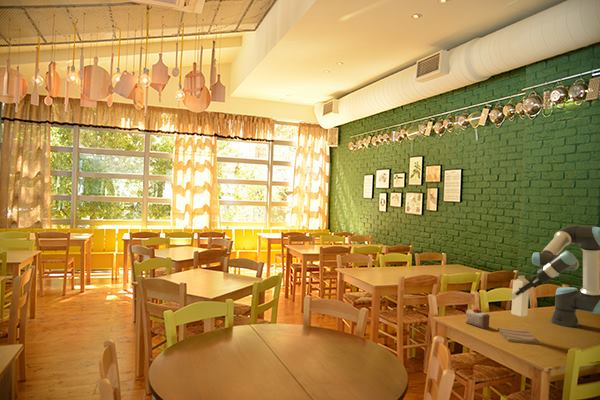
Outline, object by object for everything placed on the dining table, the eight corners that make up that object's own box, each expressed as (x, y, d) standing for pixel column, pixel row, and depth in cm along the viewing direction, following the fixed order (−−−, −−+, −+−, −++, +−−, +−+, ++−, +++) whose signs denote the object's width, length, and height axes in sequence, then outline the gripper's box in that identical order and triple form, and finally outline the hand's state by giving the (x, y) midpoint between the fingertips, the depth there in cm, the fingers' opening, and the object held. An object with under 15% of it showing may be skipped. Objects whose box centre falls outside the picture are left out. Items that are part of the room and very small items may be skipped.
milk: (527, 315, 242) (530, 276, 241) (520, 316, 239) (523, 277, 238) (517, 312, 247) (520, 274, 247) (510, 313, 244) (513, 274, 244)
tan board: (497, 330, 254) (497, 327, 254) (526, 333, 252) (526, 330, 252) (507, 341, 235) (508, 338, 235) (539, 344, 232) (539, 341, 232)
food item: (463, 322, 266) (464, 306, 266) (471, 321, 270) (472, 305, 270) (482, 329, 255) (483, 312, 254) (491, 327, 259) (492, 311, 259)
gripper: (549, 280, 225) (513, 305, 235) (556, 276, 241) (522, 299, 251) (538, 268, 228) (503, 293, 239) (546, 265, 244) (513, 288, 254)
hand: (513, 296), depth 245 cm, fingers closed on milk, 8 cm apart
